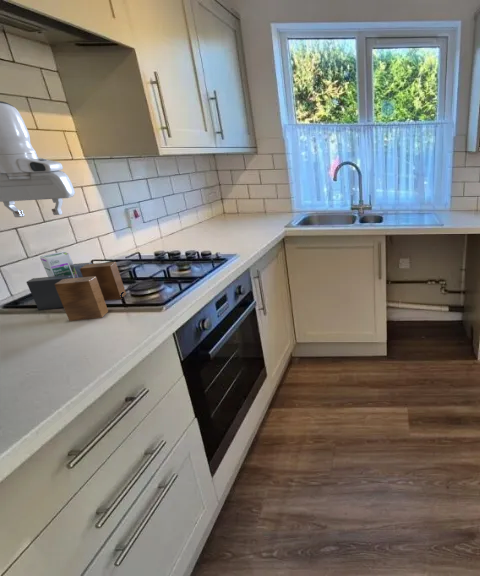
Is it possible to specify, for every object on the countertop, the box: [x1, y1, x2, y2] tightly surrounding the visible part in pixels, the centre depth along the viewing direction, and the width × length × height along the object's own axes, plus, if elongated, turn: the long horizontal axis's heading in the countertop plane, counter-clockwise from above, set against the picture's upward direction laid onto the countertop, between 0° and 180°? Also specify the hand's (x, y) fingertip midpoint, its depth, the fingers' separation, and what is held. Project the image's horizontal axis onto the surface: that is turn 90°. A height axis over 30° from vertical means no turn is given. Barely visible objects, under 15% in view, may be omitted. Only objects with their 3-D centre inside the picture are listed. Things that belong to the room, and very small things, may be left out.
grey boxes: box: [25, 262, 93, 311], centre depth 113 cm, size 10×15×9 cm, turn 14°
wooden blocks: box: [54, 261, 127, 322], centre depth 106 cm, size 8×17×11 cm, turn 14°
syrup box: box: [39, 250, 78, 278], centre depth 111 cm, size 6×6×14 cm
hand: (39, 215), depth 104 cm, fingers open, 8 cm apart
